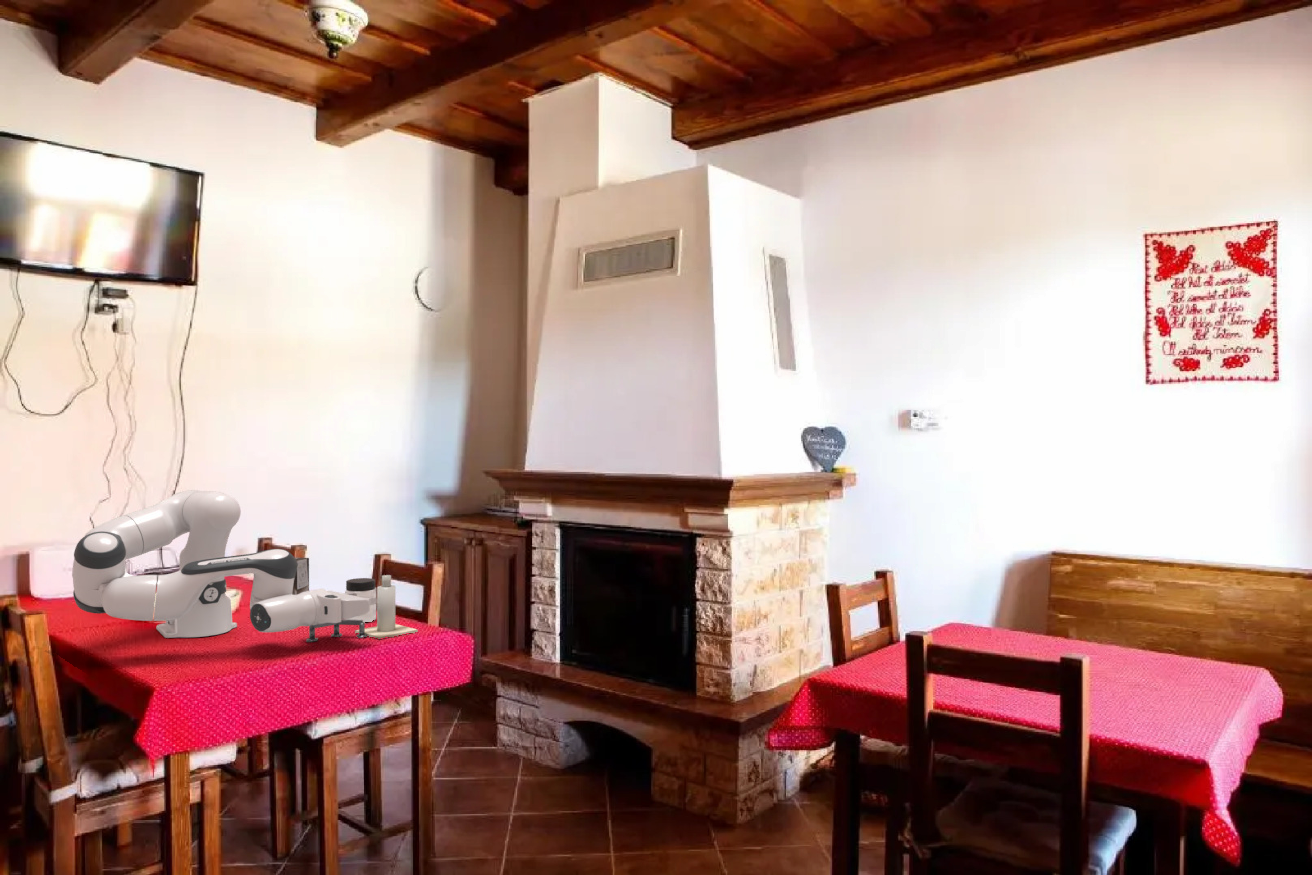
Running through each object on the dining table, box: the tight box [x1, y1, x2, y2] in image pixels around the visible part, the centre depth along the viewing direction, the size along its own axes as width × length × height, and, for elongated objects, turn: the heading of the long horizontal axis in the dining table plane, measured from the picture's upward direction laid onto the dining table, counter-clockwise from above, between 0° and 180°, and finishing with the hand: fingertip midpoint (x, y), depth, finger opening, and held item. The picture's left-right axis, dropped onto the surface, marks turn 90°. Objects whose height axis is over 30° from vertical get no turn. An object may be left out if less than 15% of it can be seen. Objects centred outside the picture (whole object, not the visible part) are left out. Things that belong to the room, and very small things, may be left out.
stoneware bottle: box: [376, 574, 396, 632], centre depth 245 cm, size 5×5×15 cm
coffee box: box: [292, 556, 310, 595], centre depth 275 cm, size 9×6×16 cm
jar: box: [344, 577, 377, 623], centre depth 260 cm, size 9×8×12 cm
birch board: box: [354, 623, 419, 639], centre depth 245 cm, size 12×12×1 cm
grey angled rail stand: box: [306, 619, 368, 643], centre depth 237 cm, size 9×14×5 cm, turn 139°
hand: (365, 597), depth 240 cm, fingers open, 8 cm apart
